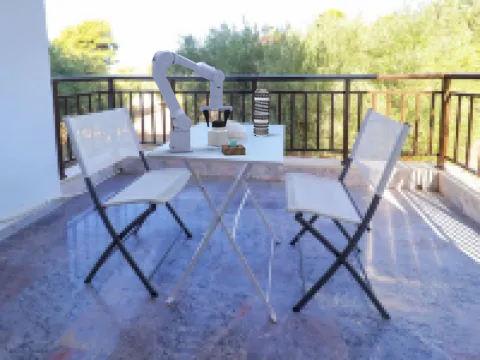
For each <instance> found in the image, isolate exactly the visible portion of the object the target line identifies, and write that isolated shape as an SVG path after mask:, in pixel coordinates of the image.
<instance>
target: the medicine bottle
mask: <svg viewBox="0 0 480 360" xmlns="http://www.w3.org/2000/svg"><path fill="white" fill-rule="evenodd" d="M207 145H208V146H213V147H222V145H229V130H227V129H225V127H224V119H213V120H212V121H211V129H208V130H207Z"/></svg>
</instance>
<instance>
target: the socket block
mask: <svg viewBox="0 0 480 360" xmlns="http://www.w3.org/2000/svg"><path fill="white" fill-rule="evenodd" d="M246 152H247V151H246V147H245V146H244V145H243V144H242V143H241V144H239V143H238V144H237V147H230V144H228V145H222V146H221V153H222V154H223V155H224V156H245V155H246Z"/></svg>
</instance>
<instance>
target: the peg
mask: <svg viewBox="0 0 480 360" xmlns="http://www.w3.org/2000/svg"><path fill="white" fill-rule="evenodd" d="M229 145H230V147H237V145H238V139H237V138H230V139H229Z"/></svg>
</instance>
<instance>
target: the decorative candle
mask: <svg viewBox="0 0 480 360" xmlns="http://www.w3.org/2000/svg"><path fill="white" fill-rule="evenodd" d="M269 94H270V91H269V90H268V89H266V88H257V89H256V90H255V91H254V99H253V101H252V103H254V104H253V110H254V111H253V115H254V119H253V128H252V129H253V132H252V133H253V136H254V135H256V136H255V137H268V136H267V135H269V131H270V129H269V128H270V126H269V124H270V123H269V115H270V108H269V107H270V104H271V101H270V97H269Z"/></svg>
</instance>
